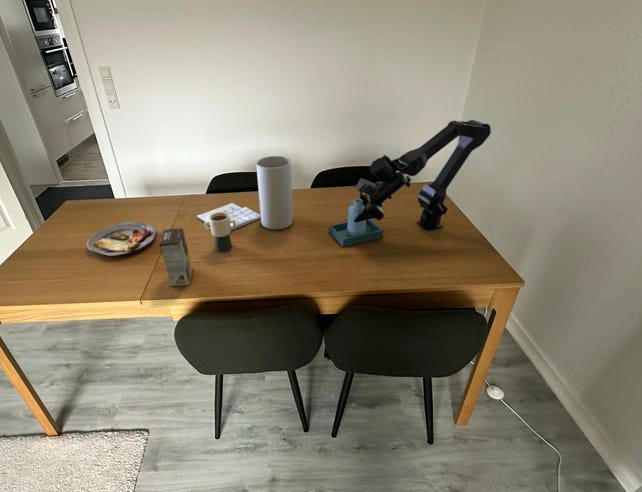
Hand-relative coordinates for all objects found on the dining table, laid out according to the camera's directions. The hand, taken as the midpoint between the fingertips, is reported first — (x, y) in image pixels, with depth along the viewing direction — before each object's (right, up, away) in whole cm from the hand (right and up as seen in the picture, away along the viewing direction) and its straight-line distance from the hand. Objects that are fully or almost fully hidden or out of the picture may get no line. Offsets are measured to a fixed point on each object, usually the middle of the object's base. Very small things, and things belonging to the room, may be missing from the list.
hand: (353, 217), depth 135 cm
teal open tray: (+2, -6, +4) cm, 8 cm away
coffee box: (-59, -22, -11) cm, 64 cm away
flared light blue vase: (+2, -5, +4) cm, 7 cm away
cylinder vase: (-27, -1, +15) cm, 31 cm away
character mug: (-47, -11, +2) cm, 48 cm away
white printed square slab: (-47, +2, +21) cm, 52 cm away
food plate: (-86, -9, +10) cm, 87 cm away
